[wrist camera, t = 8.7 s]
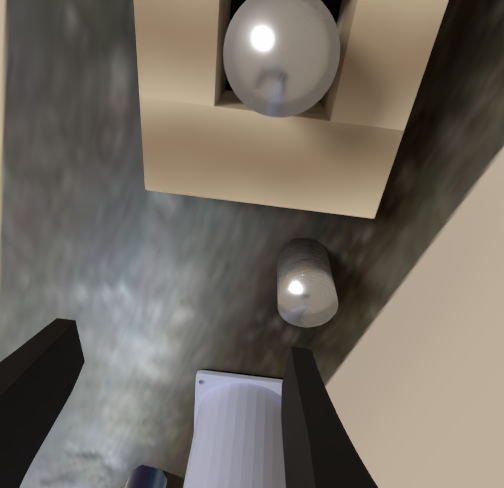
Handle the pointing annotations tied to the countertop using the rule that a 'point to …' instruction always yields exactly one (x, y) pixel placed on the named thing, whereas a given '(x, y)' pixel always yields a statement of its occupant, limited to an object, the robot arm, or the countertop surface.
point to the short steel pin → (305, 284)
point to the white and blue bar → (146, 478)
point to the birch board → (283, 128)
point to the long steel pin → (281, 55)
